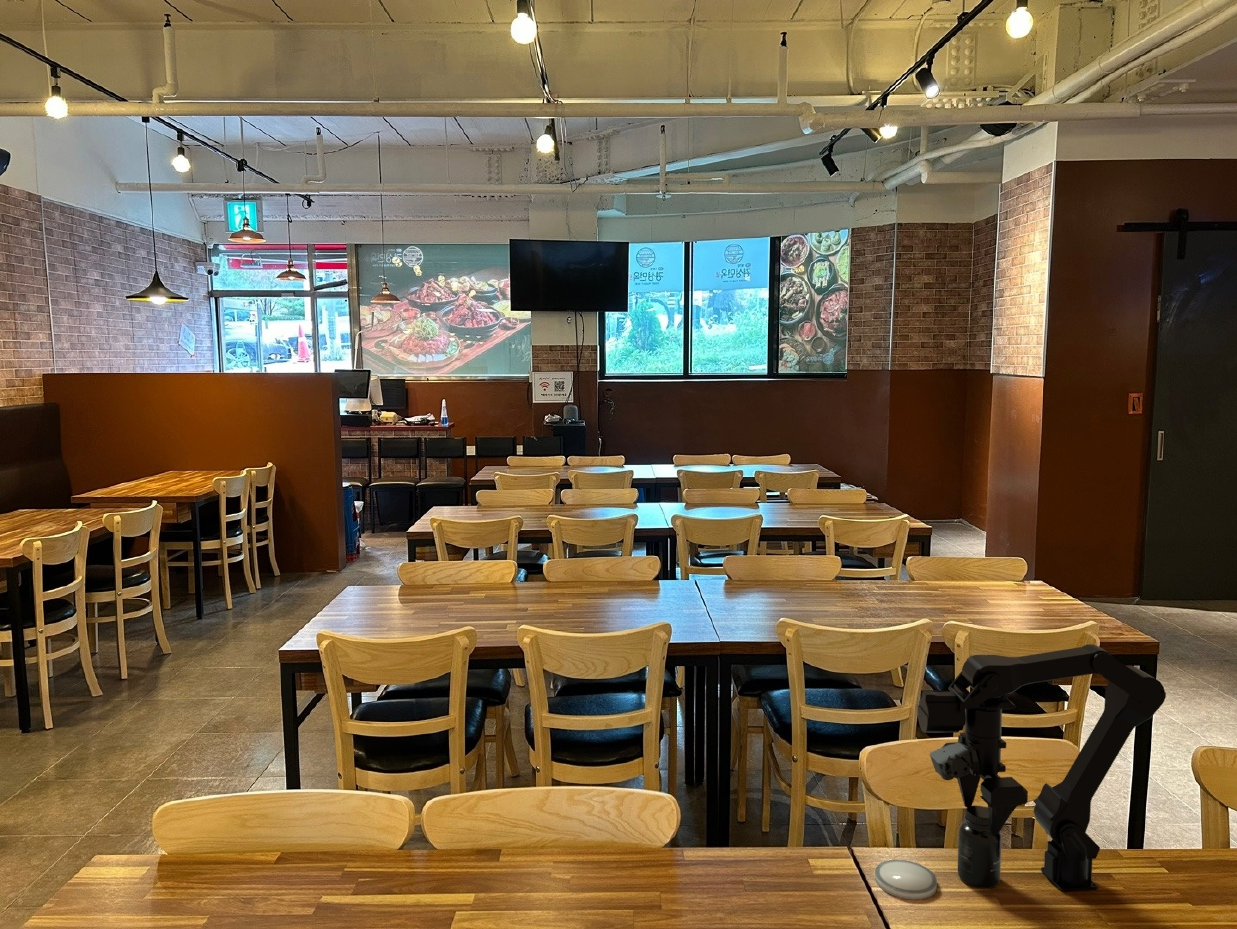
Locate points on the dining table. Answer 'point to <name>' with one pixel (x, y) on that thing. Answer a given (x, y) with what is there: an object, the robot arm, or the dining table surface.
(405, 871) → the dining table surface
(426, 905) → the dining table surface
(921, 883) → the dish
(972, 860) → the supplement bottle
